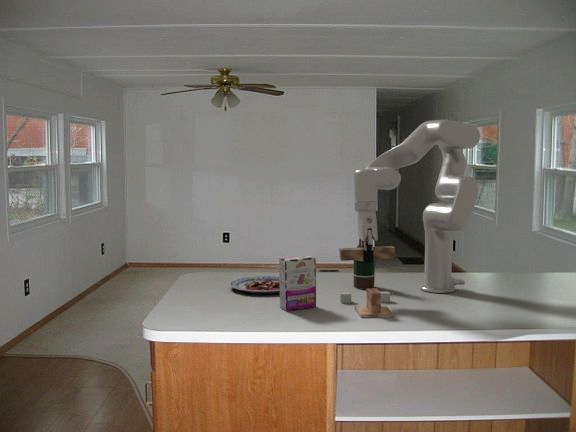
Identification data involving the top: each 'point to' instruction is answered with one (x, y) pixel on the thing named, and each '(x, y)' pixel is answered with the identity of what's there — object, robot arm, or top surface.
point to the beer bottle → (364, 273)
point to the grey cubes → (346, 297)
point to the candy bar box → (297, 282)
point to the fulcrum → (373, 306)
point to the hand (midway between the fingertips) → (367, 260)
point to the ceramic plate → (257, 284)
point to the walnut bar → (357, 253)
